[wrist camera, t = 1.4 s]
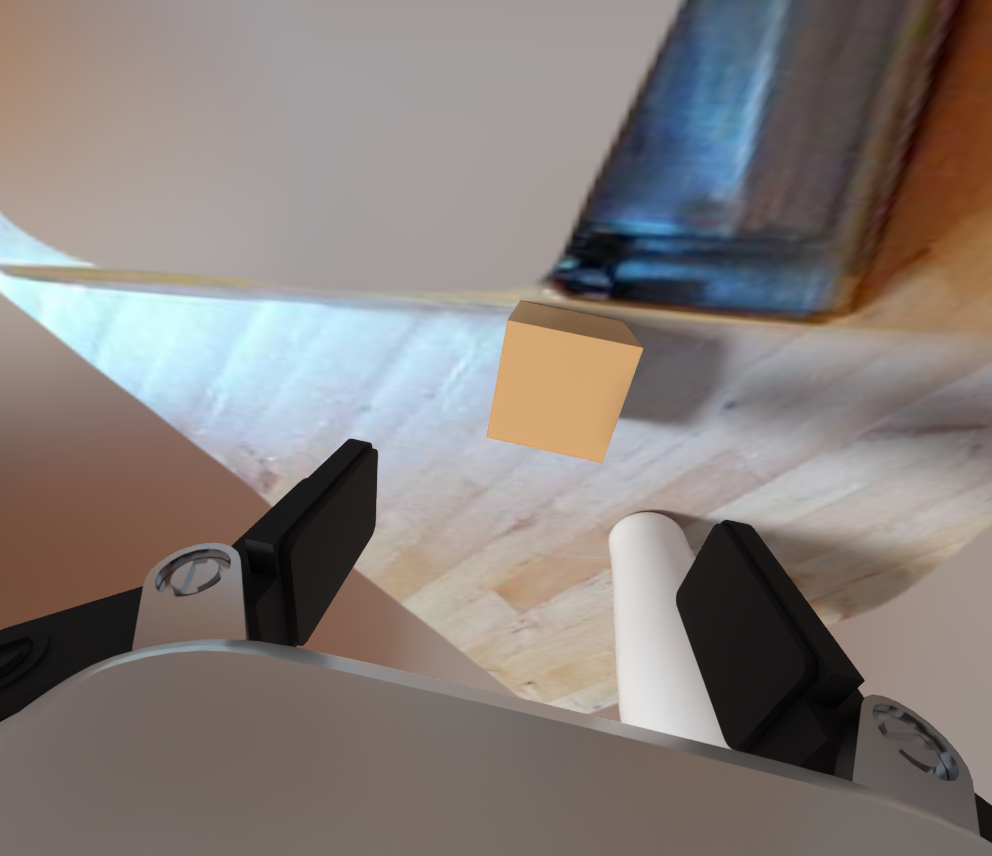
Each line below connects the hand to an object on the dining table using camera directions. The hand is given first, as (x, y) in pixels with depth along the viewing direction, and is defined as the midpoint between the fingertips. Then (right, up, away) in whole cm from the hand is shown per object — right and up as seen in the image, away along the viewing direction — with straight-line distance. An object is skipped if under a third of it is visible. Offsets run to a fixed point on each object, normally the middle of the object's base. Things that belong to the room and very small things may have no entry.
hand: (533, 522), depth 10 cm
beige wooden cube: (+3, +7, +13) cm, 15 cm away
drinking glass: (+10, -5, +18) cm, 21 cm away
